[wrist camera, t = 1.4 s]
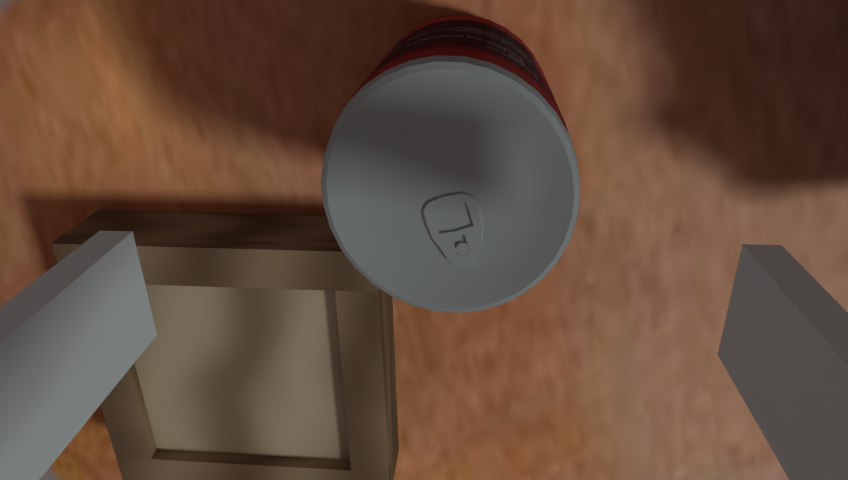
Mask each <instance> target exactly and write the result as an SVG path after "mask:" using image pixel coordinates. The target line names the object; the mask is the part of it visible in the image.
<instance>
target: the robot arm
mask: <svg viewBox="0 0 848 480" xmlns="http://www.w3.org/2000/svg"><path fill="white" fill-rule="evenodd" d="M156 336H157V332H156V328H155V324H154V320H153V315H152V311H151V307H150V303H149V298H148V294H147V290H146V286H145V281H144V277H143V273H142V269H141V265H140V260H139V256H138V252H137V248H136V243H135V239H134V235H133V231H99V232H97V233H96V234H95V235H94V236H92V237H91V238H90V239H88V240H87V241H86V242H85V243H83V244H82V245H81V246H79V247H78V248H77V249H75V250H74V251H73V252H72V253H70V254H69V255H68V256H66V257H65V258H64V259H62V260H61V261H60V262H59V263H57V264H56V265H55V266H53V267H52V268H51V269H49V270H48V271H47V272H46V273H44V274H43V275H42V276H40V277H39V278H38V279H36V280H35V281H34V282H33V283H31V284H30V285H29V286H27V287H26V288H25V289H23V290H22V291H21V292H20V293H18V294H17V295H16V296H14V297H13V298H12V299H11V300H9V301H8V302H7V303H5V304H4V305H3V306H1V307H0V480H40V478H41V477H42V476H43V475H44V473H45V472H46V471H47V470H48V468H49V467H50V466H51V465H52V464H53V462H54V461H55V460H56V459H57V457H58V456H59V455H60V454H61V452H62V451H63V450H64V449H65V448H66V446H67V445H68V444H69V443H70V441H71V440H72V439H73V438H74V436H75V435H76V434H77V433H78V432H79V430H80V429H81V428H82V427H83V425H84V424H85V423H86V422H87V420H88V419H89V418H90V417H91V416H92V414H93V413H94V412H95V411H96V409H97V408H98V407H99V406H100V404H101V403H102V402H103V401H104V400H105V398H106V397H107V396H108V395H109V393H110V392H111V391H112V390H113V388H114V387H115V386H116V385H117V384H118V382H119V381H120V380H121V379H122V377H123V376H124V375H125V374H126V373H127V371H128V370H129V369H130V368H131V366H132V365H133V364H134V363H135V361H136V360H137V359H138V358H139V357H140V355H141V354H142V353H143V352H144V350H145V349H146V348H147V347H148V345H149V344H150V343H151V342H152V341H153V339H154V338H155V337H156ZM718 356H719V357H720V359H721V361H722V363H723V364H724V366H725V368H726V370H727V371H728V373H729V375H730V377H731V378H732V380H733V382H734V384H735V385H736V387H737V389H738V391H739V392H740V394H741V396H742V398H743V399H744V401H745V403H746V405H747V406H748V408H749V410H750V412H751V413H752V415H753V417H754V419H755V420H756V422H757V424H758V426H759V427H760V429H761V431H762V433H763V434H764V436H765V438H766V440H767V441H768V443H769V445H770V447H771V448H772V450H773V452H774V454H775V455H776V457H777V459H778V461H779V462H780V464H781V466H782V468H783V469H784V471H785V473H786V475H787V476H788V478H789V480H848V313H847V312H846V311H845V310H844V309H843V308H842V307H841V306H840V305H839V304H838V303H837V301H836V300H835V299H834V298H833V297H832V296H831V295H830V294H829V293H828V292H827V291H826V290H825V289H824V288H823V287H822V286H821V285H820V284H819V283H818V282H817V281H816V280H815V279H814V278H813V277H812V276H811V275H810V274H809V273H808V272H807V271H806V270H805V269H804V268H803V267H802V266H801V265H800V264H799V263H798V262H797V261H796V260H795V259H794V258H793V257H792V256H791V255H790V254H789V253H788V252H787V251H786V250H785V248H784V247H783V246H782V245H747V244H743V245H742V250H741V254H740V259H739V263H738V267H737V272H736V276H735V281H734V285H733V289H732V294H731V298H730V303H729V307H728V311H727V316H726V320H725V325H724V329H723V333H722V338H721V342H720V347H719V351H718Z"/></svg>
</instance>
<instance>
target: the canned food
mask: <svg viewBox="0 0 848 480" xmlns="http://www.w3.org/2000/svg"><path fill="white" fill-rule="evenodd" d="M321 184H322V196H323V205H324V209H325V212H326V216H327V219H328V222H329V226H330V229H331V231H332V233H333V235H334V237H335V238H336V240H337V242H338V244H339V246H340V248H341V250H342V251H343V253H344V254H345V255H346V256H347V258H348V259H349V260H350V262H351V263H352V264H353V266H354V267H355V268H356V269H357V270H358V271H359V272H360V273H361V274H362V275H363V276H365V277H366V278H367V279H368V280H369V281H370V282H371V283H372V284H373V285H375V286H377V287H378V288H380V289H381V290H383V291H384V292H386V293H387V294H389V295H391V296H392V297H394V298H397V299H399V300H401V301H404V302H406V303H409V304H411V305H413V306H417V307H421V308H425V309H430V310H434V311H443V312H468V311H477V310H484V309H487V308H490V307H493V306H497V305H500V304H503V303H506V302H508V301H510V300H512V299H514V298H515V297H517V296H519V295H521V294H523V293H525V292H526V291H528V290H529V289H530V288H531V287H533V286H534V285H535V284H537V283H538V282H539V281H540V280H542V279H543V278H544V277H545V276H546V274H547V273H548V272H549V271H550V270H551V269H552V267H553V266H554V265H555V264H556V263H557V262H558V261H559V259H560V257H561V255H562V253H563V252H564V250H565V248H566V246H567V244H568V243H569V241H570V239H571V236H572V232H573V229H574V226H575V223H576V220H577V217H578V207H579V197H580V183H579V174H578V164H577V158H576V155H575V152H574V149H573V145H572V142H571V139H570V136H569V133H568V130H567V127H566V124H565V122H564V119H563V117H562V115H561V113H560V110H559V108H558V106H557V103H556V101H555V99H554V96H553V94H552V92H551V89H550V87H549V85H548V83H547V80H546V78H545V76H544V73H543V71H542V69H541V67H540V65H539V64H538V62H537V60H536V58H535V56H534V55H533V53H532V52H531V51H530V50H529V49H528V47H527V46H526V45H525V44H524V43H523V42H522V40H521V39H519V38H518V37H517V36H516V35H514V34H513V33H512V32H510V31H509V30H508V29H506V28H505V27H503V26H500V25H498V24H496V23H494V22H492V21H490V20H487V19H483V18H479V17H474V16H462V15H452V16H447V17H441V18H436V19H433V20H431V21H429V22H426V23H424V24H422V25H419V26H418V27H416V28H415V29H413V30H412V31H411V32H409V33H408V34H406V35H405V36H404V37H403V38H402V39H401V40H400V41H399V42H398V43H397V44H396V45H395V46H394V48H393V49H392V50H391V51H390V52H389V53H388V54H387V56H386V57H385V58H384V59H383V60H382V62H381V63H380V64H379V65H378V66H377V67H376V69H375V70H374V71H373V72H372V73H371V75H370V76H369V77H368V78H367V79H366V80H365V82H364V83H363V84H362V85H361V86H360V88H359V89H358V90H357V91H356V92H355V93H354V95H353V96H352V98H351V99H350V101H349V102H348V103H347V104H346V106H345V108H344V110H343V111H342V113H341V115H340V116H339V118H338V120H337V122H336V123H335V125H334V127H333V130H332V133H331V136H330V139H329V142H328V145H327V148H326V151H325V154H324V159H323V168H322V177H321Z"/></svg>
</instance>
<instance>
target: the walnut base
mask: <svg viewBox="0 0 848 480" xmlns="http://www.w3.org/2000/svg"><path fill="white" fill-rule="evenodd" d="M99 231H133V235H134V239H135V243H136V248H137V252H138V256H139V260H140V265H141V269H142V273H143V277H144V281H145V286H146V290H147V294H148V298H149V303H150V307H151V311H152V315H153V320H154V324H155V328H156V332H157V336H156V337H155V338H154V339H153V341H152V342H151V343H150V344H149V345H148V347H147V348H146V349H145V350H144V352H143V353H142V354H141V355H140V357H139V358H138V359H137V360H136V361H135V363H134V364H133V365H132V366H131V368H130V369H129V370H128V371H127V373H126V374H125V375H124V376H123V377H122V379H121V380H120V381H119V382H118V384H117V385H116V386H115V387H114V388H113V390H112V391H111V392H110V393H109V395H108V396H107V397H106V398H105V400H104V401H103V402H102V403H101V404H100V406H101V409H102V412H103V415H104V419H105V422H106V425H107V429H108V432H109V435H110V438H111V442H112V445H113V448H114V451H115V455H116V458H117V461H118V465H119V468H120V471H121V474H122V478H123V480H393V479H394V473H395V467H396V461H397V455H398V449H399V446H398V422H397V399H396V376H395V352H394V329H393V306H392V296H391V295H389V294H387V293H386V292H384V291H383V290H381V289H380V288H378V287H377V286H375V285H373V284H372V283H371V282H370V281H369V280H368V279H367V278H366V277H365V276H363V275H362V274H361V273H360V272H359V271H358V270H357V269H356V268H355V267H354V266H353V264H352V263H351V262H350V260H349V259H348V258H347V256H346V255H345V254H344V253H343V251H342V250H341V248H340V246H339V244H338V242H337V240H336V238H335V237H334V235H333V233H332V231H331V229H330V226H329V222H328V219H327V216H306V215H262V214H217V213H173V212H128V211H96V212H95V213H93V214H92V215H91V216H89V217H88V218H86V219H85V220H84V221H82V222H81V223H79V224H78V225H77V226H75V227H74V228H72V229H71V230H70V231H68V232H67V233H65V234H64V235H63V236H61V237H60V238H58V239H57V240H56V241H54V242H53V243H51V245H52V249H53V252H54V255H55V258H56V262H57V263H59V262H60V261H61V260H62V259H64V258H65V257H66V256H68V255H69V254H70V253H72V252H73V251H74V250H75V249H77V248H78V247H79V246H81V245H82V244H83V243H85V242H86V241H87V240H88V239H90V238H91V237H92V236H94V235H95V234H96V233H97V232H99Z"/></svg>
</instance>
